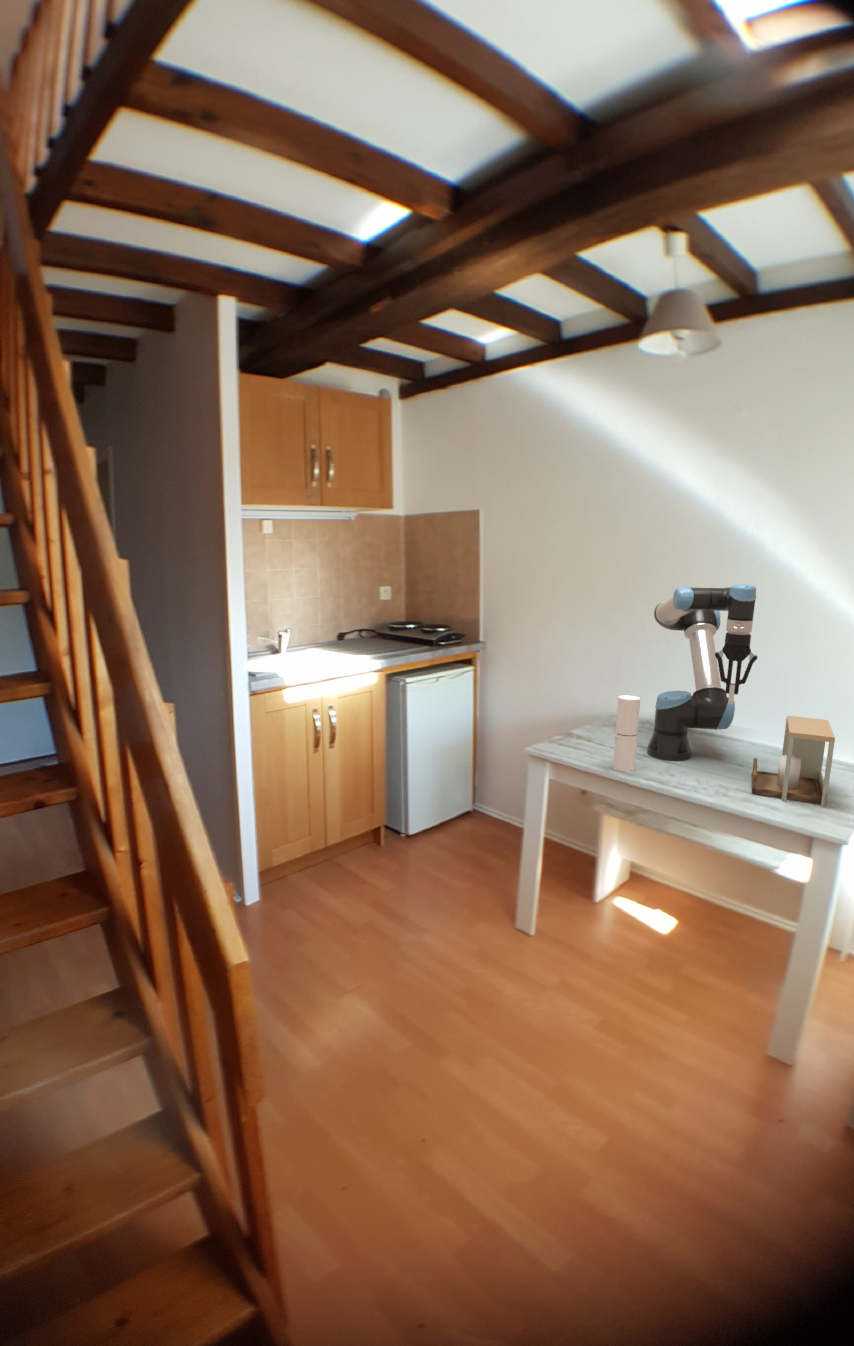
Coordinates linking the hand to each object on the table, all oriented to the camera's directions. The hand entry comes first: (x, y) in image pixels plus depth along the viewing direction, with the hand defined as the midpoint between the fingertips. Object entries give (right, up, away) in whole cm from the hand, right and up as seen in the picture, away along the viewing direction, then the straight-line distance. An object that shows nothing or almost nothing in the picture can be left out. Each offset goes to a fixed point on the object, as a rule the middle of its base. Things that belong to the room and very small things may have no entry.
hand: (730, 703), depth 223 cm
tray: (+13, -27, -9) cm, 31 cm away
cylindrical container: (-33, -23, +9) cm, 41 cm away
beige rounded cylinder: (+13, -25, -10) cm, 30 cm away
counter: (+17, -27, -11) cm, 34 cm away
